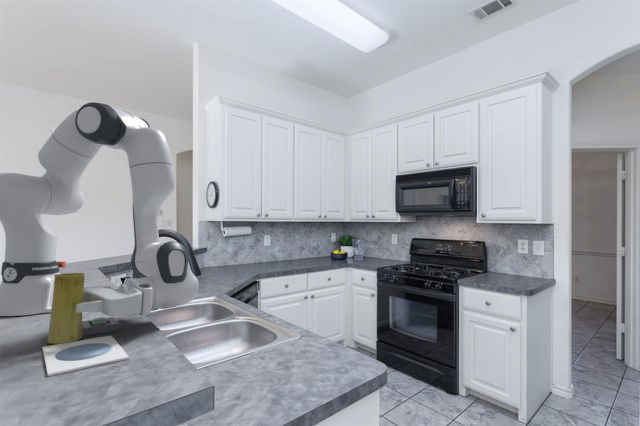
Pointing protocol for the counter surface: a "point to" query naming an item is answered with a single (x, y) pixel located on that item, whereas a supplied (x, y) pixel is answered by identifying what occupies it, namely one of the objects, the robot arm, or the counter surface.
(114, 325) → the button collar
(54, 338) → the vase
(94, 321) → the button
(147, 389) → the counter surface
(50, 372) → the paper pad
